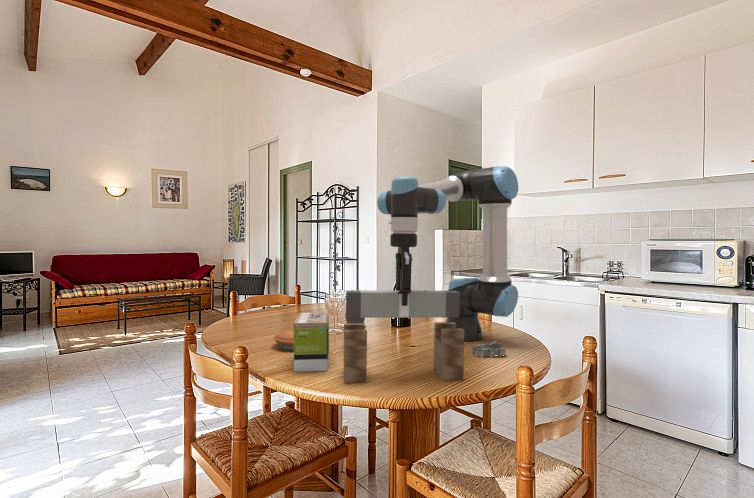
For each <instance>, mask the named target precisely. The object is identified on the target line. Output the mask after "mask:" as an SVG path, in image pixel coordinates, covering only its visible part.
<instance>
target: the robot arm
mask: <svg viewBox="0 0 754 498" xmlns="http://www.w3.org/2000/svg"><path fill="white" fill-rule="evenodd" d="M518 193H519V181H518V177H517V175H516V173H515V171H514V170H513V169H512V168H511V167H509V166H505V165H503V166H497V165H496V166H492V167H483V168H475V169H469V170H466V171H463V172H459V173H456V174H452V175H448V176H447V177H446V176H445V178H444V179H442V180H438V181H433V182H432V181H431V182H428V183H424V184H420V185H419V180H418V179H417V177H412V176H399V177H395V178H393V179H392V180H391V188H390V190H387V191H382V192H381V193H380V194H379V195H378V197H377V199H376V202H377V203H376V204H377V209H378V211H380V213H381V214H383V215H389V216H390V220H389V221H388V224H389V225H390V231H391V232H392V233H391V234H390V238H389V239H390V241H389V242H390V246H391V247H393V248H394V247H395V248H397V252H396V253H395V285H394V286H395V288H396V289H395V290H396V291H400V292H398V294H399V317H409V293H410V292H411V291H412V265H413V264H412V262H413V257H412V253H410V248H416V247H417V245H418V235H417V233H416V232H418V223H419V222H418V221H419V220H418V219H419V217H418V214H429V215H434V214H439V213H441V212H442V211H443V210H444V209H445V207H446V203H447V201H449V202H458V201H473V202H474V201H478V203H477V204H478V206H479V207H480V209H481V210H482V275H481V276H480V277H479V278H478V277H464V278H453V279H451V280H449V282H448V289H447V291H457V292H459V293H460V311H459V317H446V321H445V322H454V323H456V328H462V329H463V330H464V342H474V341H475V342H476V341H480V340H482V339H483V330H482V327H481V323H480V320H479V314H483V315H490V316H493V317H502V318H504V317H505V318H507V317H509V316H510V315H511V314H512V313H513V312H514V311H515V309H516V307H517V304H518V300H519V291H518V288H517V286H515V285H513V284H512V280H513V279H512V278H511V277H510V276H509V275H508V209H509V208H510V207H511V206H512V200H513V199H515V198H516V197H517V196H518Z"/></svg>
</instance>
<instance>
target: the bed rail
mask: <svg viewBox="0 0 754 498" xmlns="http://www.w3.org/2000/svg"><path fill="white" fill-rule="evenodd" d="M398 292H400V291H397V290H346V291H345V314H346V316H345V319H346V318H366V319H369V318H370V319H373V318H374V319H379V318H380V319H381V318H383V319H384V318H386V319H387V318H388V319H389V318H396V319H397V318H398V319H400V318H402V319H403V318H408V319H409V318H410V319H411V318H412V319H413V318H414V319H415V318H448V317H459V311H460V293H459V292H457V291H448V290H411V292H410V293H409V317H399V294H398Z"/></svg>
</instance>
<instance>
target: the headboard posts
mask: <svg viewBox="0 0 754 498" xmlns="http://www.w3.org/2000/svg"><path fill="white" fill-rule="evenodd" d="M433 329H434V332H433V333H434V334H433V335H434V336H433V370H434V371H435V372H436V374H437V375H438V377H439V379H441V381H445V382H446V381H464V366H465V365H464V363H465V341H464V330H463V329H462V328H456V323H454V322H446V321H444V322H441V321H440V322H439V321H438V322H437V321H435V322H434V327H433ZM367 330H368V329H367V328H366V323H365V322H364V323H347V322H346V323H343V383H345V384H353V383H354V384H357V383H361V384H362V383H367V375H368V374H367V371H368V370H367V365H368V362H367V361H368V356H367V355H368V354H367V353H368V331H367Z"/></svg>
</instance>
